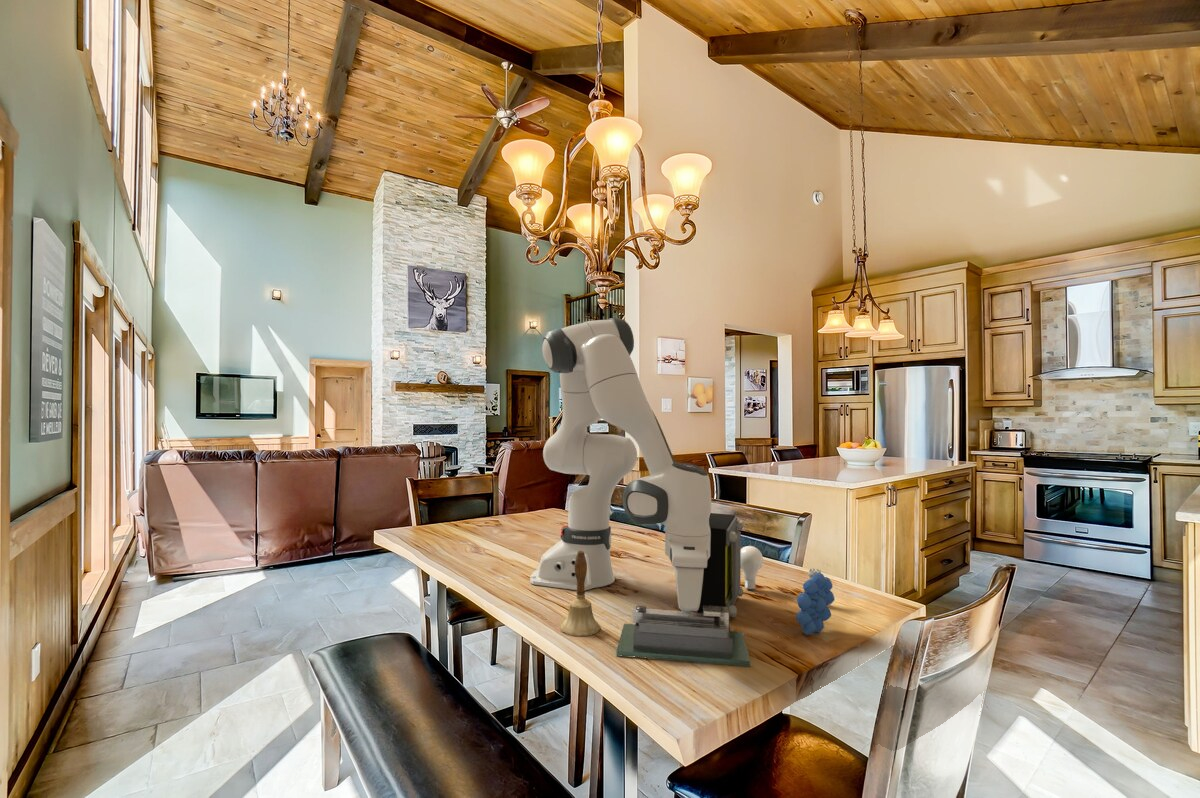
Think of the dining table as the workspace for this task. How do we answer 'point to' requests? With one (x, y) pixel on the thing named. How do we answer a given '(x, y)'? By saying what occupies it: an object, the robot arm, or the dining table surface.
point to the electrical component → (723, 564)
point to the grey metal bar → (670, 616)
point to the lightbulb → (750, 565)
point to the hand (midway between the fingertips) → (686, 616)
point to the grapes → (815, 603)
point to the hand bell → (580, 605)
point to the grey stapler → (686, 640)
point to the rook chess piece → (813, 572)
